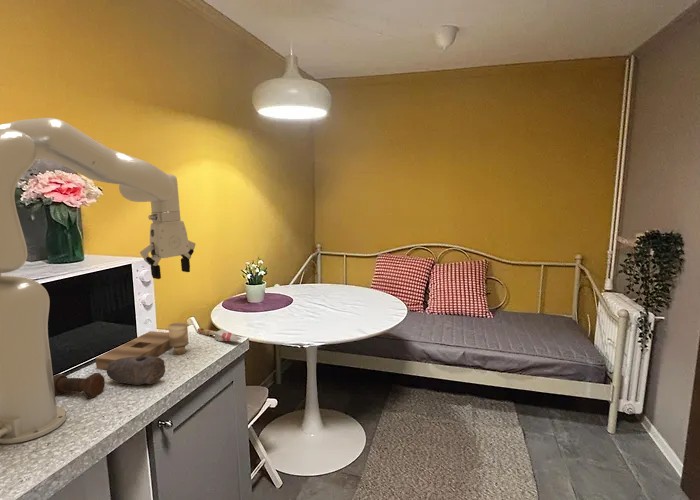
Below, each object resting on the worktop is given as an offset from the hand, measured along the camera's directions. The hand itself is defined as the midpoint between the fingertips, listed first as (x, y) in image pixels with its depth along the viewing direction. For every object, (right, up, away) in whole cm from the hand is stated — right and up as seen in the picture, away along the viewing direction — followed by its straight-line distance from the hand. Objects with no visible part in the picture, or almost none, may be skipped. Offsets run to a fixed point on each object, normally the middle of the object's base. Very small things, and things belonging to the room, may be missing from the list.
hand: (171, 274), depth 126 cm
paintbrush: (+10, -22, +13) cm, 27 cm away
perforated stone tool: (-2, -27, -18) cm, 32 cm away
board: (-9, -24, 0) cm, 25 cm away
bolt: (-15, -28, -23) cm, 39 cm away
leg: (+2, -23, +1) cm, 23 cm away
